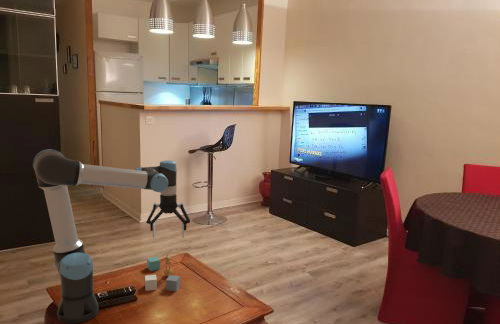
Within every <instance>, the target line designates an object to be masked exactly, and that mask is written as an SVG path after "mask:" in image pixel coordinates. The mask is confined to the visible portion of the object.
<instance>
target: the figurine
mask: <svg viewBox="0 0 500 324" xmlns="http://www.w3.org/2000/svg"><path fill="white" fill-rule="evenodd" d="M164 260H165V261H164ZM171 260H172V261H173V262H174V263H176V264H177V261H176V260H175V259H174V258H172V257H170V255H169V254H167V255H166V256H165V257H164V258H161V259H160V262H159V264H160V265H161V263H162V261H164V265H165V268H166V269H164V272H163V273H164V275H165V276H166V277H167V278H168V277H169V275H173V272H174V271H173V269H172V268H171V265H172V263H171ZM168 265H169V266H168Z"/></svg>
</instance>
